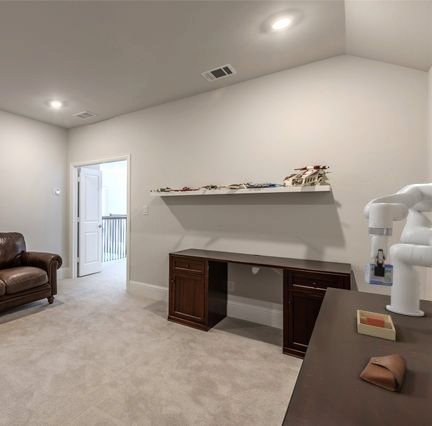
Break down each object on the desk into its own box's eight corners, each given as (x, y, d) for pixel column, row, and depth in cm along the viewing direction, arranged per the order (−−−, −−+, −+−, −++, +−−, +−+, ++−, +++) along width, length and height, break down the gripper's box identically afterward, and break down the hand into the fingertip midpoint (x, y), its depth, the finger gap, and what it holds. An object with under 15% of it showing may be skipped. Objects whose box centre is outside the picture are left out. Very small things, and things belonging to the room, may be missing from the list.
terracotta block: (366, 326, 118) (366, 314, 118) (383, 329, 115) (383, 317, 115) (366, 330, 114) (367, 317, 114) (384, 334, 111) (384, 320, 111)
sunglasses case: (368, 356, 95) (383, 341, 92) (394, 375, 90) (411, 361, 88) (358, 377, 83) (375, 361, 80) (387, 400, 78) (406, 385, 76)
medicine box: (368, 284, 125) (369, 263, 125) (364, 281, 129) (365, 261, 129) (393, 286, 122) (393, 265, 122) (387, 284, 126) (388, 263, 126)
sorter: (357, 318, 130) (357, 309, 130) (389, 324, 123) (390, 315, 123) (357, 332, 114) (358, 323, 114) (395, 340, 107) (395, 330, 107)
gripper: (367, 231, 134) (366, 271, 135) (369, 232, 121) (367, 277, 121) (390, 232, 130) (389, 273, 130) (394, 234, 116) (393, 280, 117)
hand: (378, 274), depth 126 cm, fingers closed on medicine box, 5 cm apart
